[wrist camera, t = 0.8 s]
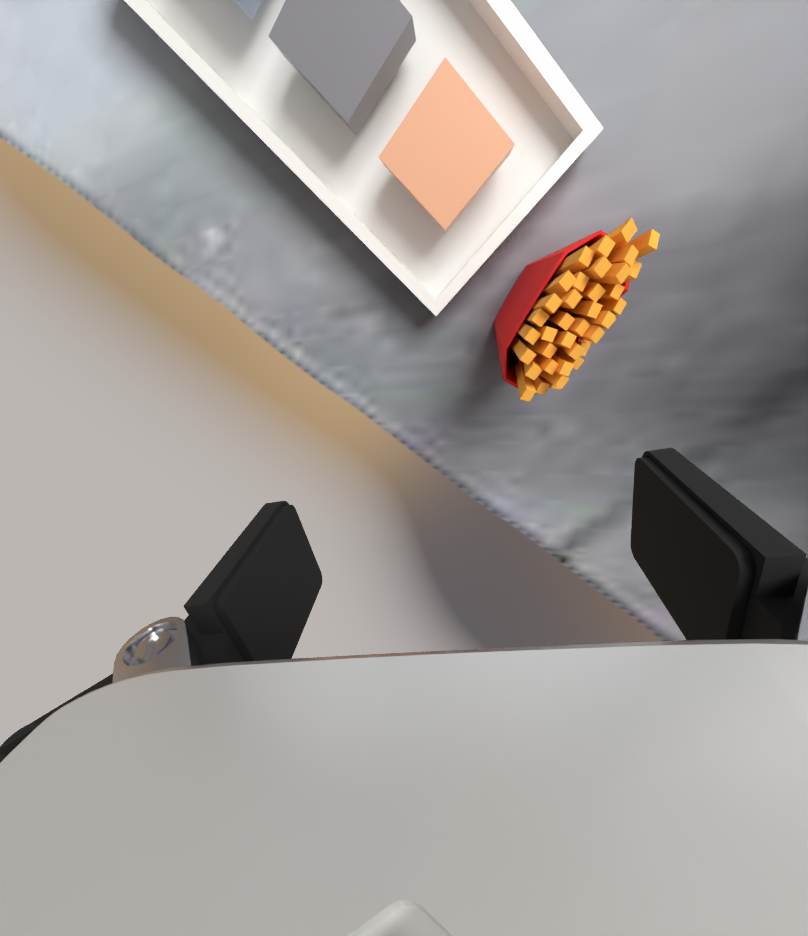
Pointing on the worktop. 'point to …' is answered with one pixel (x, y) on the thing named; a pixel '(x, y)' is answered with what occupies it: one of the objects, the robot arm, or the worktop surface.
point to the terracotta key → (446, 147)
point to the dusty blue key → (248, 7)
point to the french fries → (566, 307)
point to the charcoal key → (345, 49)
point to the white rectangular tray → (395, 124)
